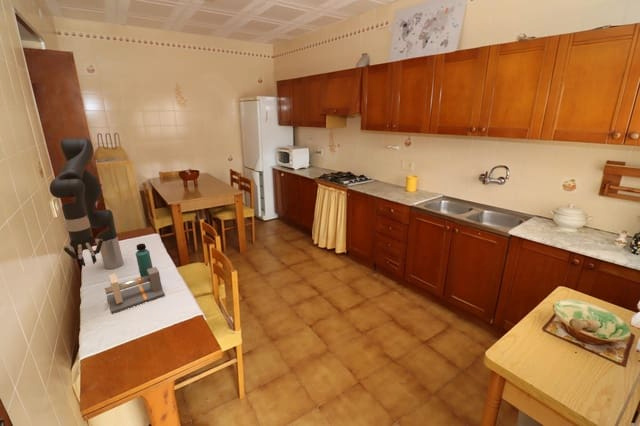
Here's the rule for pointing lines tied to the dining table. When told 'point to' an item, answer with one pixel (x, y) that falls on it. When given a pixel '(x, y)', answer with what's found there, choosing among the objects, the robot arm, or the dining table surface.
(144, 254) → the beverage bottle
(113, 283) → the beige rectangular block
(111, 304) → the mount board
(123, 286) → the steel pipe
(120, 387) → the dining table surface
